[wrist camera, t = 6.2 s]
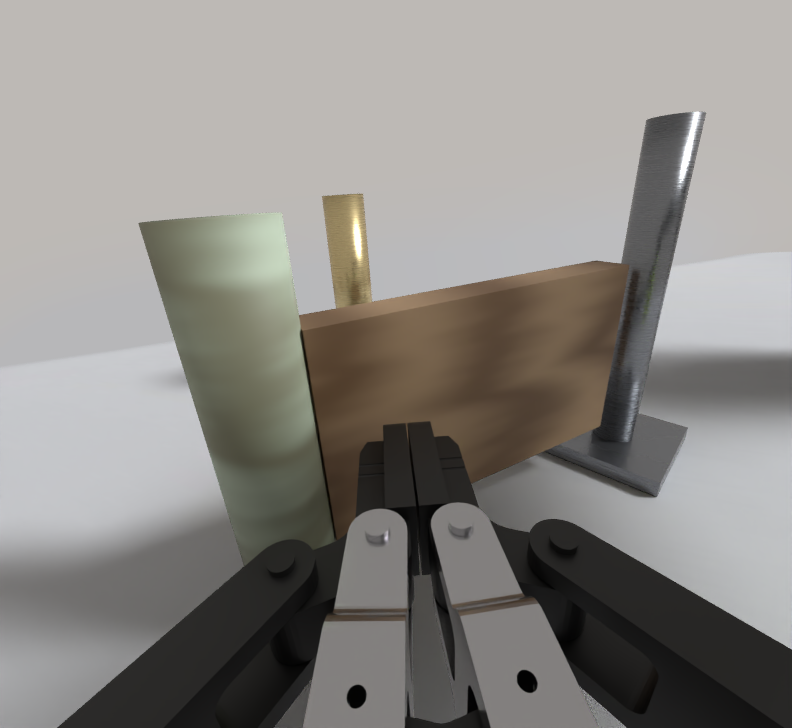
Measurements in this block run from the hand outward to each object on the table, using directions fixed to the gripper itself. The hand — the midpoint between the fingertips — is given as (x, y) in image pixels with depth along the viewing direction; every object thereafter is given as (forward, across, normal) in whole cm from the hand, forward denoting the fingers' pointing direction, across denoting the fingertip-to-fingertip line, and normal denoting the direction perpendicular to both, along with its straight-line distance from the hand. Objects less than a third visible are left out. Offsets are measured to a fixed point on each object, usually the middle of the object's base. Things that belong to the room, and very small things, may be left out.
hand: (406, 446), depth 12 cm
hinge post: (+8, -12, +6) cm, 16 cm away
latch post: (+19, +3, +6) cm, 20 cm away
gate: (+3, -2, +5) cm, 6 cm away
